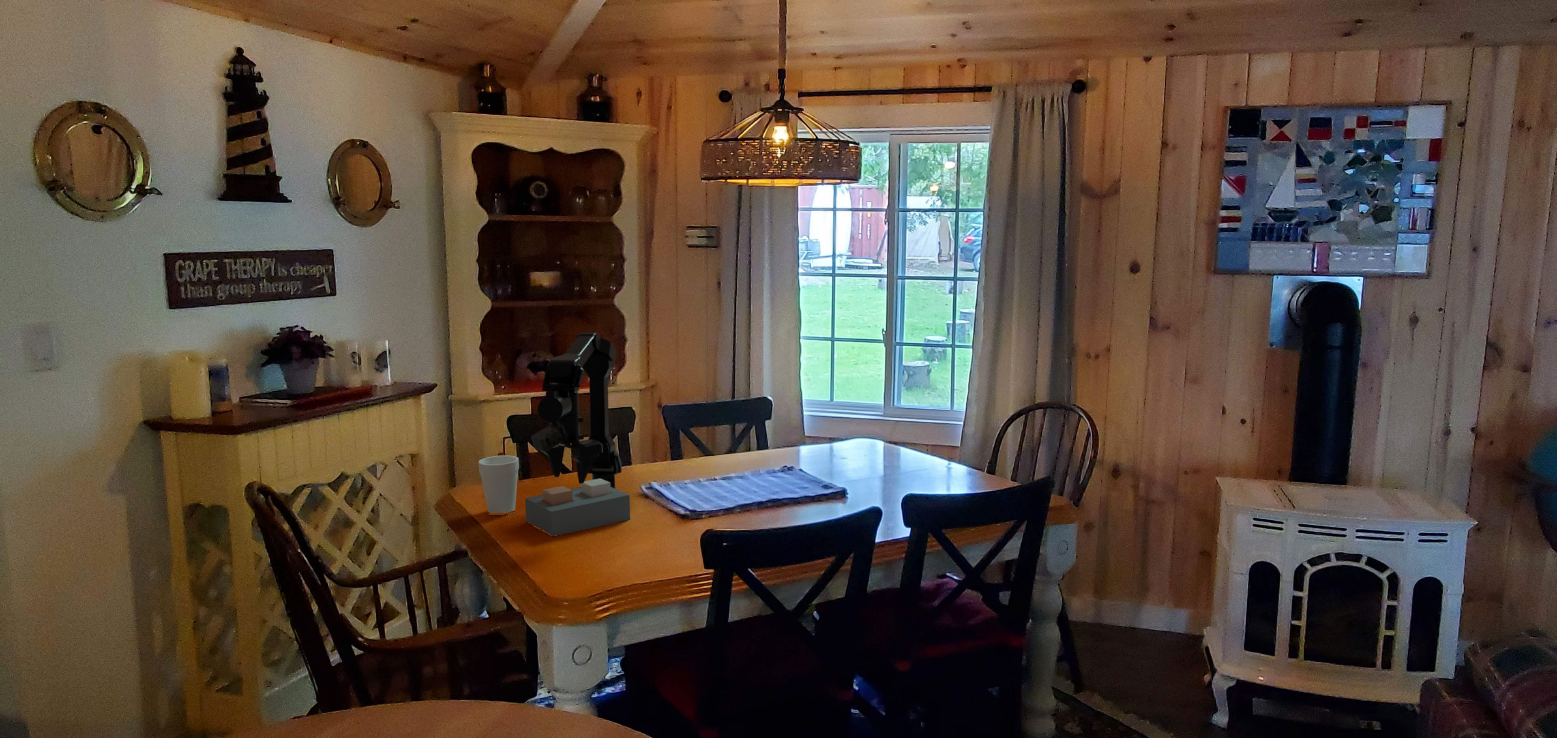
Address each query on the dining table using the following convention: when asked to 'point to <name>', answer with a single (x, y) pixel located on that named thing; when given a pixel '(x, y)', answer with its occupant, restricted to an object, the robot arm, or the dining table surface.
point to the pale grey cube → (596, 487)
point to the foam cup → (499, 482)
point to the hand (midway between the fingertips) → (569, 480)
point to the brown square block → (557, 495)
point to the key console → (578, 511)
